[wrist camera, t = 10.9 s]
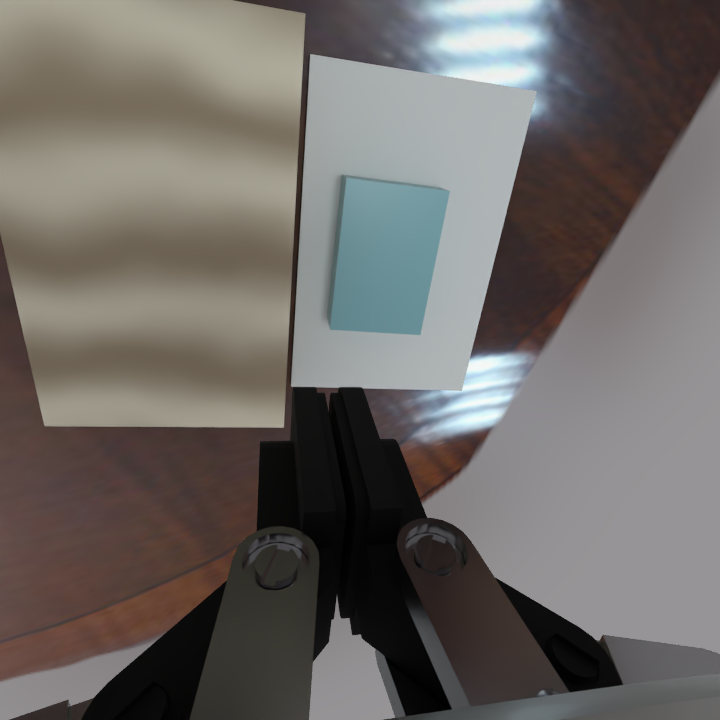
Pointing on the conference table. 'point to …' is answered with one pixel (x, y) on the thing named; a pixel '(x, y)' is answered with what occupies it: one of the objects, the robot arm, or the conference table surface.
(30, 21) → the beige flat block
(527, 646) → the robot arm
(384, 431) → the conference table surface
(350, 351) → the mat
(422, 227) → the blue rectangular block
